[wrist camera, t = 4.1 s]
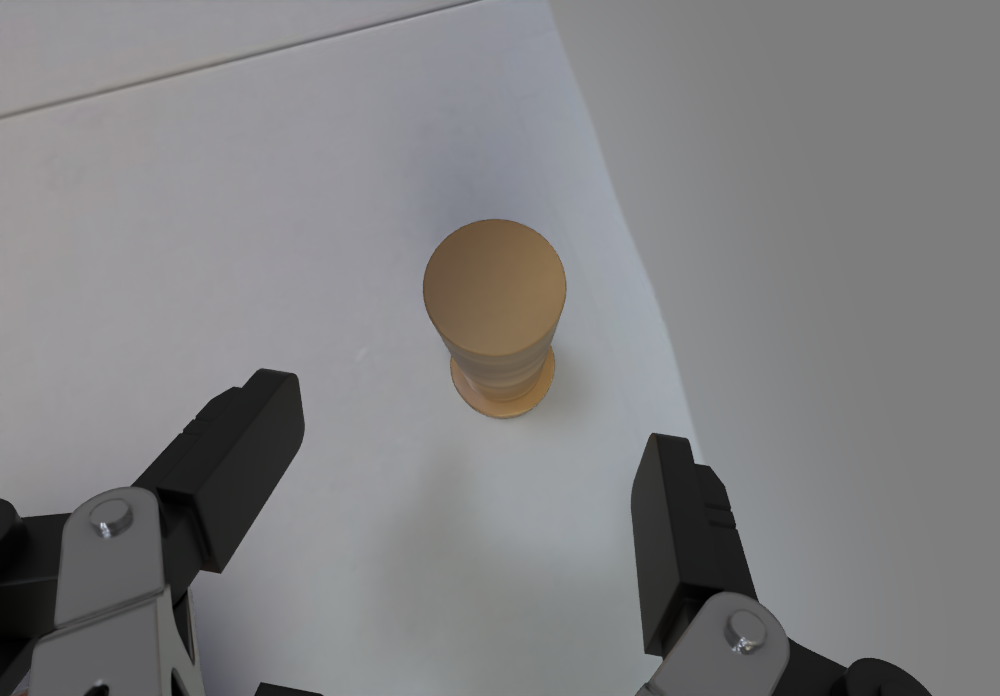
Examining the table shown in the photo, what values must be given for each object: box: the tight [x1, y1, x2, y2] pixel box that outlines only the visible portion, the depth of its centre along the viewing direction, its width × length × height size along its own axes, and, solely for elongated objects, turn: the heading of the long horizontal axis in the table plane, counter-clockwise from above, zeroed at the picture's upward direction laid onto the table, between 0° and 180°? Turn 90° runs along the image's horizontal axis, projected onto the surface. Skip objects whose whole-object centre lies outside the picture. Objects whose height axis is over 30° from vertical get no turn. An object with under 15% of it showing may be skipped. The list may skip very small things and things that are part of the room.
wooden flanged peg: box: [423, 219, 566, 419], centre depth 20 cm, size 5×5×13 cm
